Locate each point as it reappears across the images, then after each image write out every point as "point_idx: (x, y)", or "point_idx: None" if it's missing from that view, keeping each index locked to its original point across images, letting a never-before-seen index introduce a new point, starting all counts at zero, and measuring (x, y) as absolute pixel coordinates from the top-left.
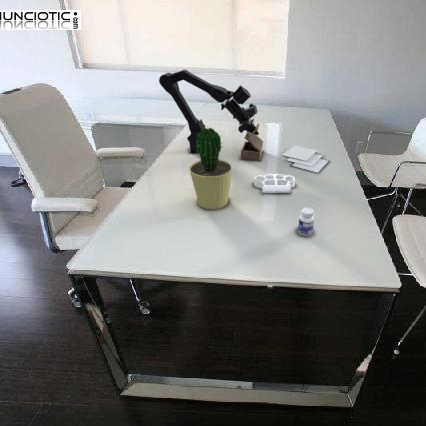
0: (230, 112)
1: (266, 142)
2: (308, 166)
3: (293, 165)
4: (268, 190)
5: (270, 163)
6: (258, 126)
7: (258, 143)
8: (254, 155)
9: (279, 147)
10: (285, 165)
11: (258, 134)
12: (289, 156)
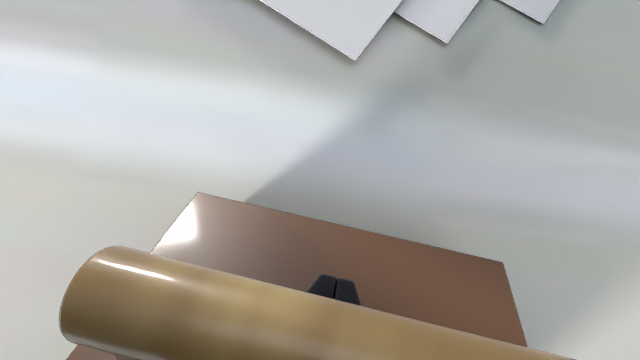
0: None
1: (39, 150)
2: None
3: (537, 11)
4: None
5: (501, 178)
6: (372, 329)
7: (355, 273)
8: None
9: (166, 59)
10: (532, 68)
11: (351, 287)
12: (389, 9)
